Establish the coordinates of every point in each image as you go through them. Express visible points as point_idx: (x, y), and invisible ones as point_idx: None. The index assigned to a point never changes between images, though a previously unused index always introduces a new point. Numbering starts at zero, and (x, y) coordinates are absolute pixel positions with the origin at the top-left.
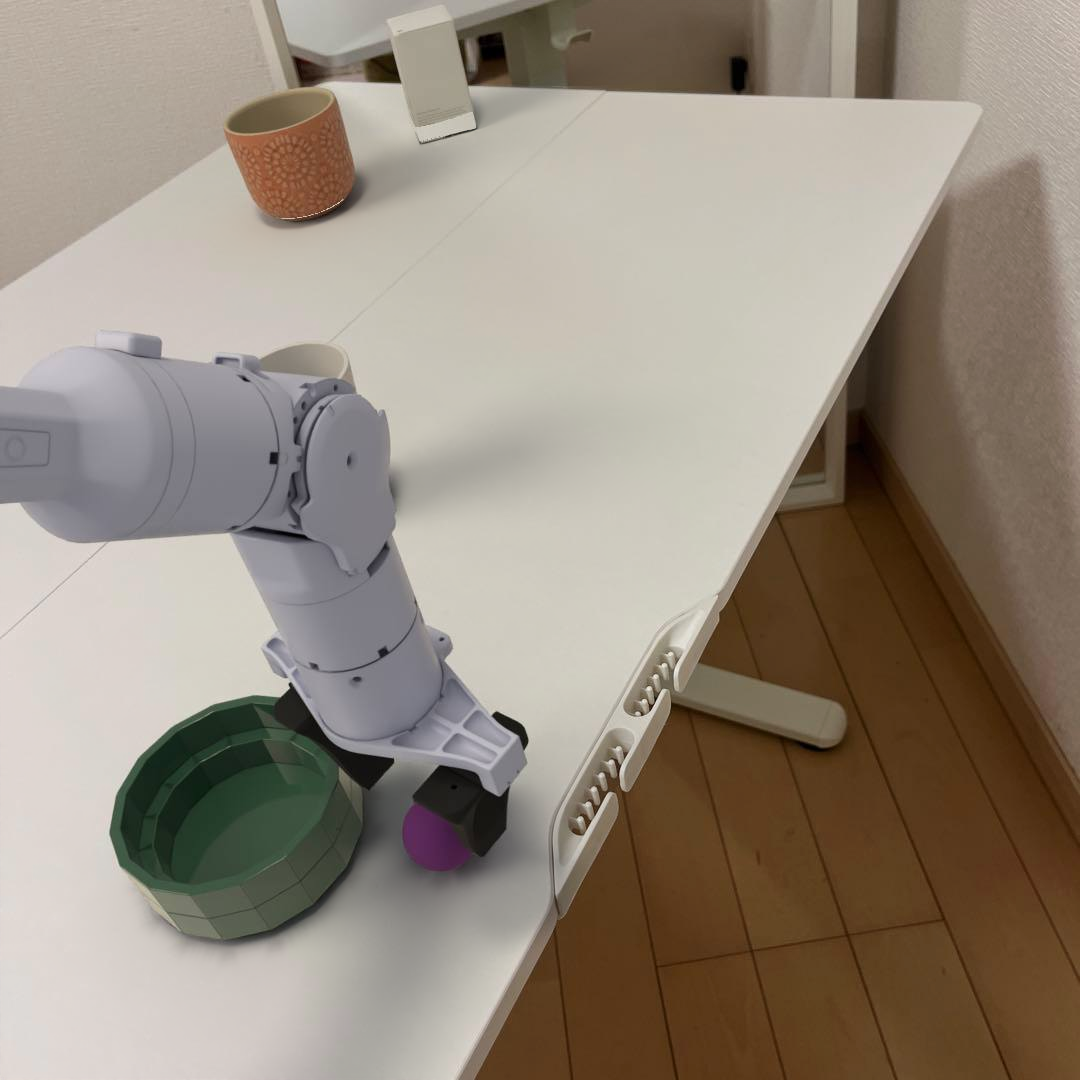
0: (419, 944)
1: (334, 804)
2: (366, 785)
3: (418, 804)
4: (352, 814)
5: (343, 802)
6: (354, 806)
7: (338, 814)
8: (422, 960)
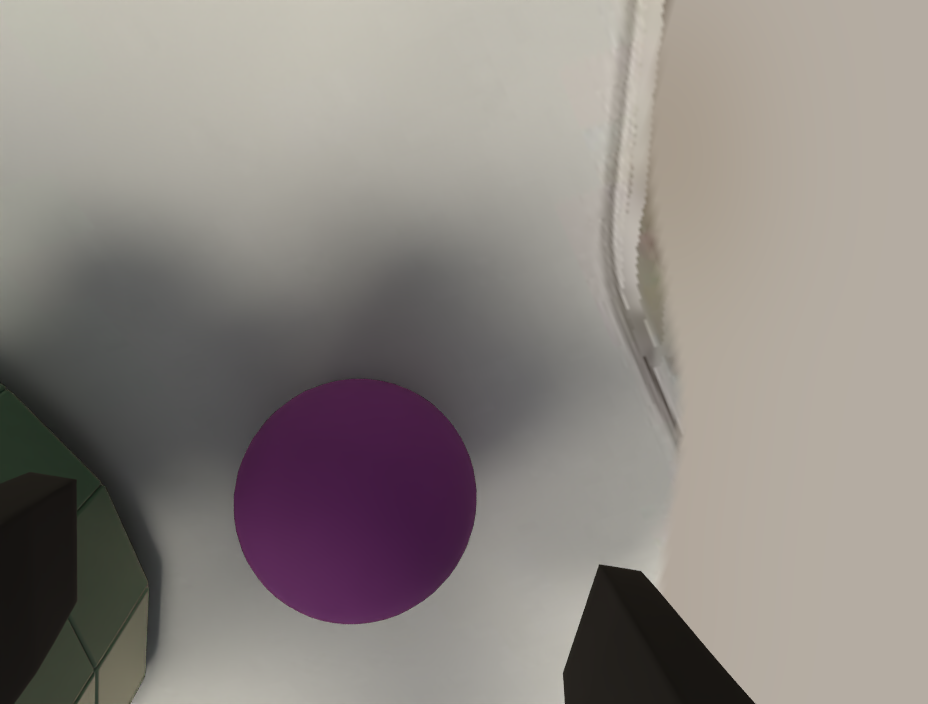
0: (428, 639)
1: None
2: (58, 622)
3: (276, 560)
4: None
5: None
6: None
7: None
8: (454, 662)
